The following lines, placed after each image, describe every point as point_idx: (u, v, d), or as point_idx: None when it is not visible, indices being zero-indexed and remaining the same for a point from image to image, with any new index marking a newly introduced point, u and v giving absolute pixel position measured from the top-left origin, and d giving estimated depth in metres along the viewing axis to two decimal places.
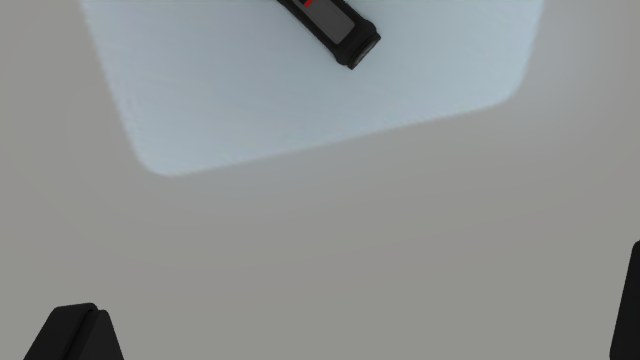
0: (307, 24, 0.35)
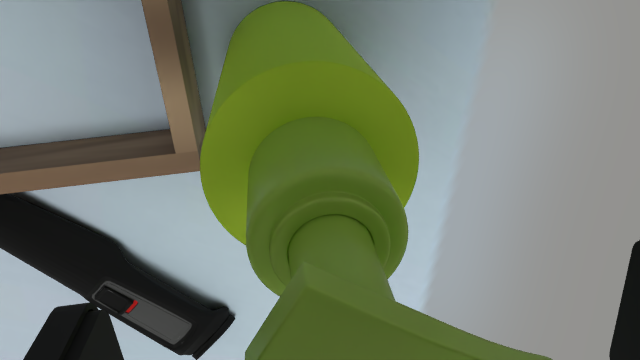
0: (132, 327, 0.29)
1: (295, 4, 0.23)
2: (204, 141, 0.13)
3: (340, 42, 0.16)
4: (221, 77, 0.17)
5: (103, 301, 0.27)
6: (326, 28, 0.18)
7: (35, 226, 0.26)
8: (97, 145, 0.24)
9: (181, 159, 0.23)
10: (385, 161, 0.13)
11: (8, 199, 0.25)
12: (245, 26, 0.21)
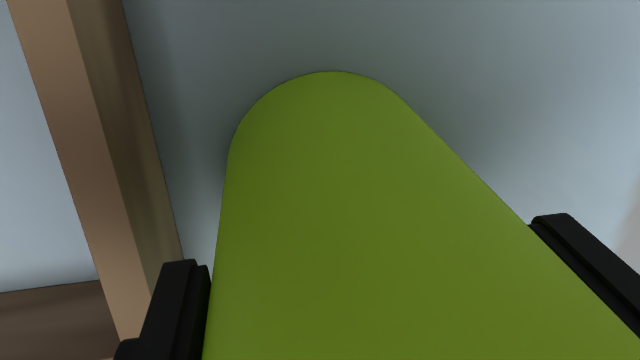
0: None
1: (351, 81, 0.12)
2: None
3: (560, 278, 0.05)
4: (213, 348, 0.06)
5: None
6: (464, 181, 0.08)
7: None
8: None
9: None
10: None
11: None
12: (263, 139, 0.10)
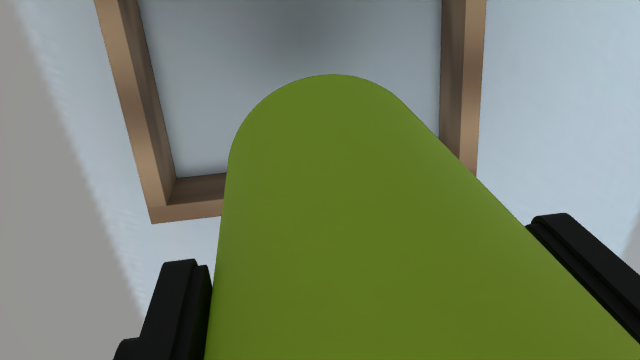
0: None
1: (352, 85, 0.12)
2: None
3: (560, 284, 0.05)
4: (215, 352, 0.06)
5: None
6: (464, 186, 0.08)
7: None
8: None
9: None
10: None
11: None
12: (264, 143, 0.10)
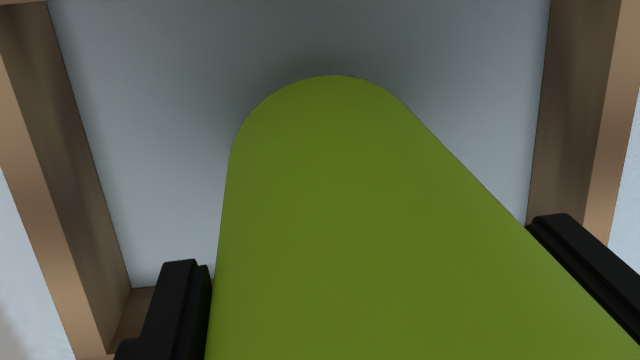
0: None
1: (352, 85, 0.12)
2: None
3: (560, 285, 0.05)
4: (216, 353, 0.06)
5: None
6: (464, 187, 0.08)
7: None
8: None
9: None
10: None
11: None
12: (264, 143, 0.10)
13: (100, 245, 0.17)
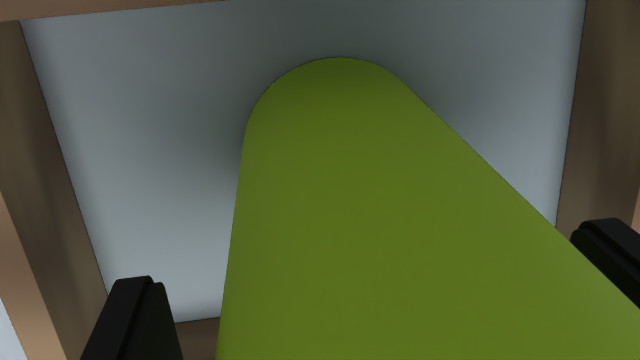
0: None
1: (357, 65, 0.14)
2: None
3: (522, 209, 0.07)
4: (236, 271, 0.07)
5: None
6: (451, 142, 0.09)
7: None
8: None
9: None
10: None
11: None
12: (277, 113, 0.12)
13: (81, 288, 0.15)
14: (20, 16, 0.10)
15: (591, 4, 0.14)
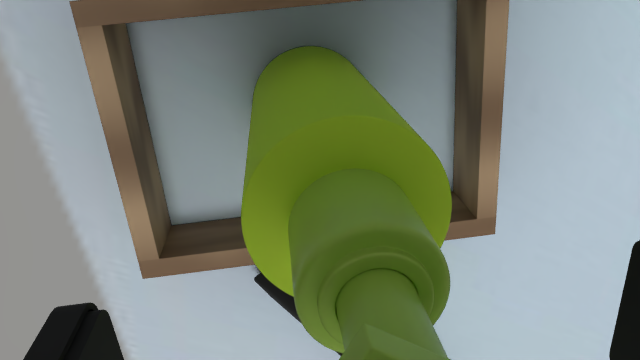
0: None
1: (319, 49, 0.24)
2: (246, 192, 0.13)
3: (370, 91, 0.16)
4: (254, 125, 0.17)
5: None
6: (353, 76, 0.19)
7: None
8: None
9: (480, 224, 0.25)
10: (419, 209, 0.14)
11: None
12: (273, 72, 0.22)
13: (154, 186, 0.25)
14: (143, 19, 0.20)
15: (458, 14, 0.25)
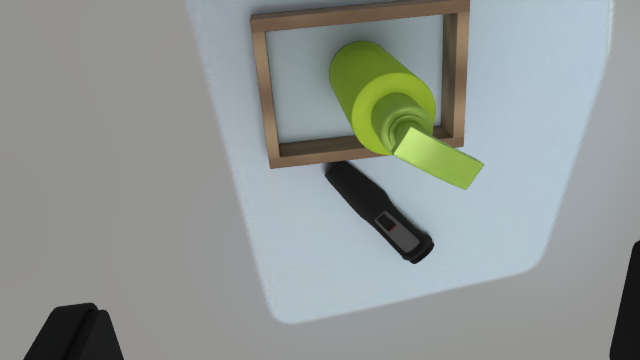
0: (388, 240, 0.51)
1: (368, 43, 0.44)
2: (354, 103, 0.33)
3: (400, 64, 0.37)
4: (346, 80, 0.37)
5: (381, 222, 0.50)
6: (391, 57, 0.39)
7: (357, 178, 0.48)
8: None
9: (455, 140, 0.46)
10: None
11: (346, 163, 0.48)
12: (346, 55, 0.42)
13: (275, 118, 0.45)
14: (284, 29, 0.40)
15: (444, 23, 0.45)
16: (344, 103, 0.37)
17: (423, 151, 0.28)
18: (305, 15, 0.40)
